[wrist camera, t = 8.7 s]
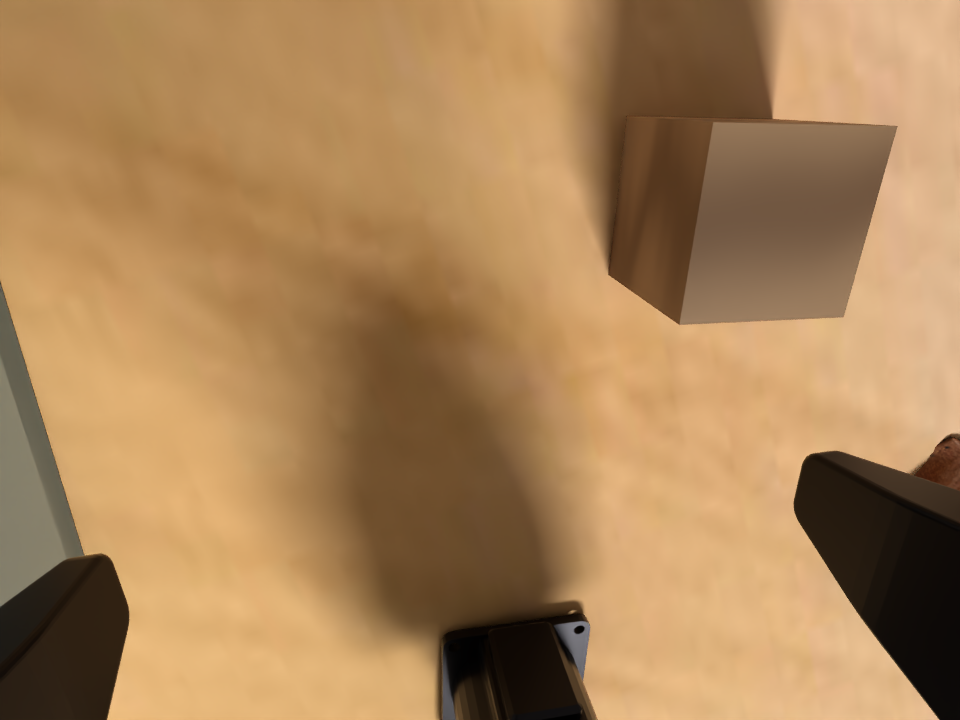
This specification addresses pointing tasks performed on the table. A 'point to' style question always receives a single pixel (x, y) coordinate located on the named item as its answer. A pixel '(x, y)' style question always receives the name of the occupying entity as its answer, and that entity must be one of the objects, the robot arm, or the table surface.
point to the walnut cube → (745, 215)
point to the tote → (27, 479)
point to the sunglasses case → (943, 464)
